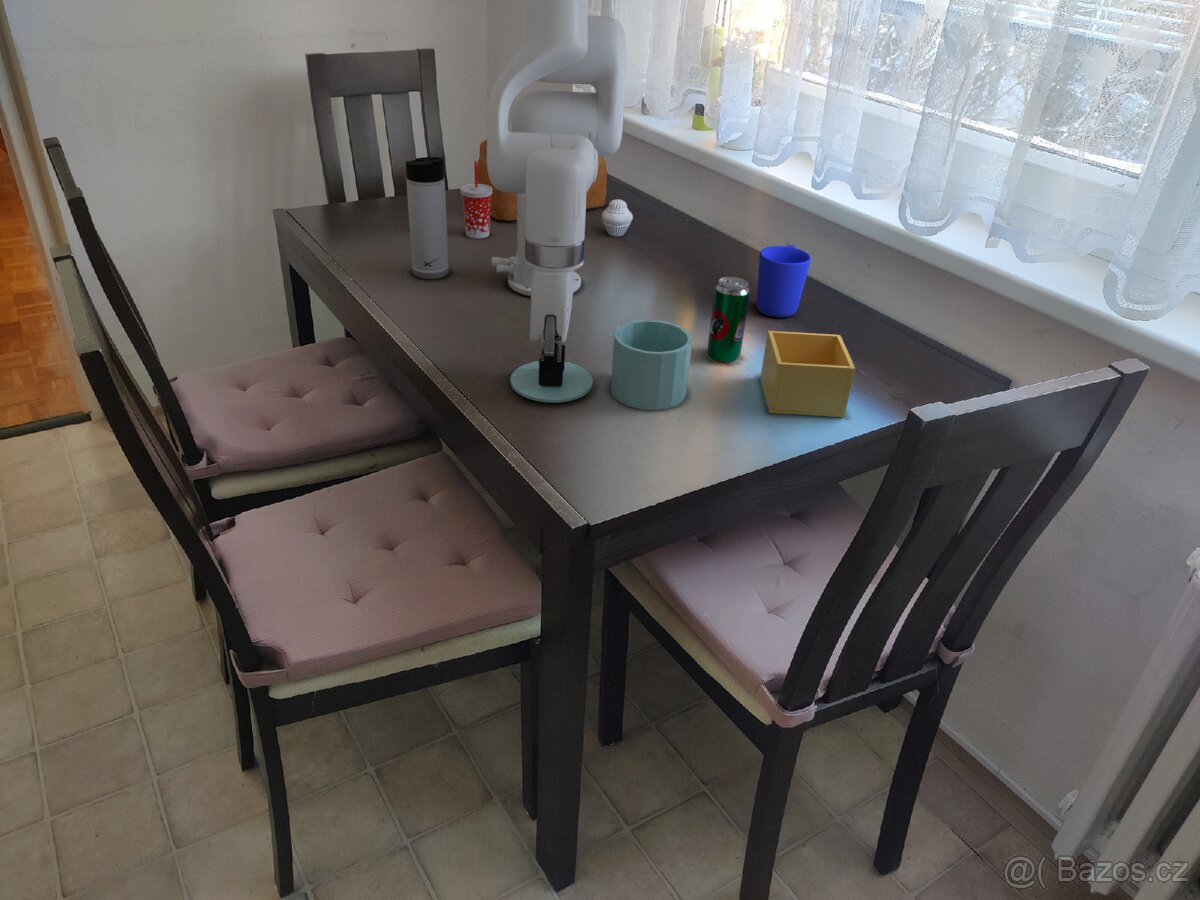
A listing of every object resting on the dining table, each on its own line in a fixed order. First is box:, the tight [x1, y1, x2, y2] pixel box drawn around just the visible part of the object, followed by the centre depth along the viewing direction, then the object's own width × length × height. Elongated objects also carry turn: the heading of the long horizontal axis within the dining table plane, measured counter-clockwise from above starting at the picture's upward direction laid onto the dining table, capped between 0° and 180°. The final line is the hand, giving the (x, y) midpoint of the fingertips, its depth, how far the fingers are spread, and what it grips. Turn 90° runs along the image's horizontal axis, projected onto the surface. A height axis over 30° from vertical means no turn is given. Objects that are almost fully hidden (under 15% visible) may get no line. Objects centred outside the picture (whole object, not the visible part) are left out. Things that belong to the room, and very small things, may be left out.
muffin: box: [601, 198, 634, 237], centre depth 176 cm, size 6×6×7 cm
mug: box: [755, 244, 812, 319], centre depth 149 cm, size 8×12×10 cm
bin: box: [759, 330, 856, 418], centre depth 123 cm, size 10×10×8 cm
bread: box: [477, 138, 608, 222], centre depth 186 cm, size 14×26×16 cm, turn 122°
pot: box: [610, 319, 693, 411], centre depth 122 cm, size 10×10×8 cm
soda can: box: [706, 276, 751, 364], centre depth 131 cm, size 5×5×12 cm
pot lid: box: [510, 346, 594, 403], centre depth 123 cm, size 11×11×6 cm
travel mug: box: [405, 156, 450, 280], centre depth 151 cm, size 6×7×20 cm
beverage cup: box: [459, 160, 493, 239], centre depth 170 cm, size 6×6×14 cm
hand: (551, 376), depth 124 cm, fingers open, 3 cm apart
